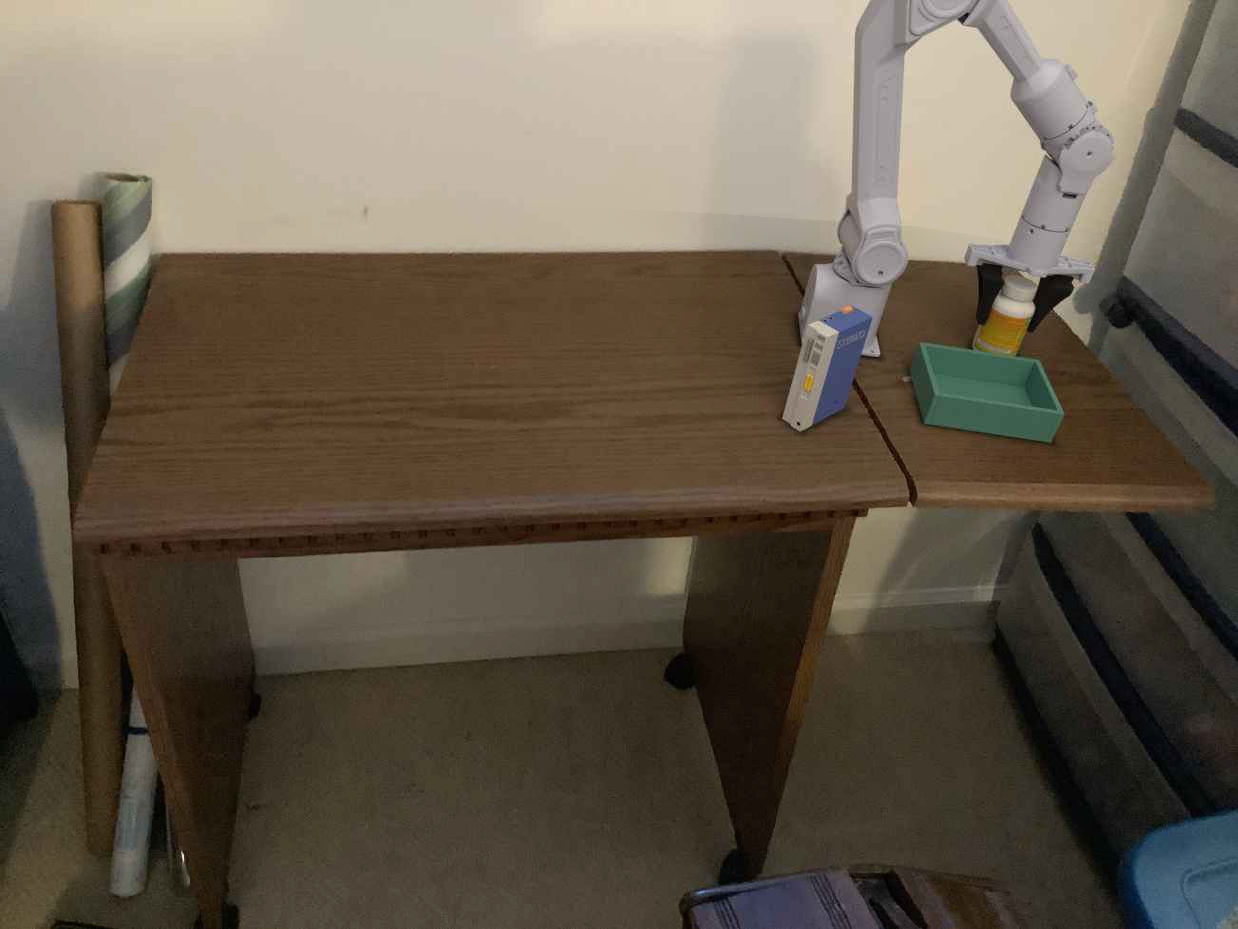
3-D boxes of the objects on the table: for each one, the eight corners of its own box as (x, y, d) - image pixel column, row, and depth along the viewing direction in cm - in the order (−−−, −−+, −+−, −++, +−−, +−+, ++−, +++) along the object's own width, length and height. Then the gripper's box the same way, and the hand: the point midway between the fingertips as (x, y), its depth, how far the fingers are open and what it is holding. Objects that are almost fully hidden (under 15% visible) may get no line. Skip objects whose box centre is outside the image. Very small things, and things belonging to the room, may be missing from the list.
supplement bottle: (1016, 367, 124) (1047, 297, 118) (972, 358, 124) (1000, 287, 118) (1012, 346, 128) (1041, 277, 122) (969, 337, 128) (996, 268, 123)
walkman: (824, 396, 113) (852, 302, 106) (844, 409, 112) (874, 313, 104) (779, 419, 108) (805, 322, 101) (799, 432, 107) (827, 334, 100)
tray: (923, 423, 111) (934, 394, 109) (909, 369, 120) (919, 341, 118) (1051, 442, 111) (1064, 414, 109) (1027, 387, 120) (1039, 359, 118)
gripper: (990, 226, 112) (951, 332, 120) (1119, 245, 112) (1071, 350, 121) (978, 201, 118) (941, 303, 126) (1100, 219, 118) (1055, 321, 126)
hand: (1003, 324), depth 124 cm, fingers closed on supplement bottle, 5 cm apart
